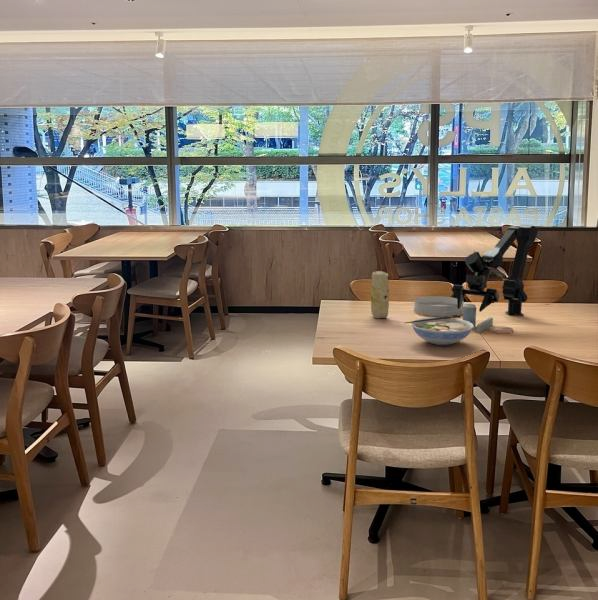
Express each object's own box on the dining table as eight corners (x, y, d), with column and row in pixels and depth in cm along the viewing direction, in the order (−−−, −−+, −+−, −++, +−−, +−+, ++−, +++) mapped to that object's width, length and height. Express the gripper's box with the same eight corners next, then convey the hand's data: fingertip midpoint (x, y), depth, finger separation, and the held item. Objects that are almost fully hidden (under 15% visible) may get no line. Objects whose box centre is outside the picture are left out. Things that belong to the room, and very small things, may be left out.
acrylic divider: (489, 324, 279) (490, 317, 279) (492, 324, 279) (492, 317, 278) (476, 332, 266) (476, 325, 266) (479, 332, 266) (479, 325, 265)
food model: (392, 317, 293) (393, 272, 289) (381, 320, 289) (381, 273, 285) (376, 314, 300) (377, 269, 296) (365, 316, 296) (366, 271, 293)
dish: (446, 305, 320) (446, 294, 319) (473, 314, 299) (474, 303, 298) (404, 309, 312) (405, 298, 311) (430, 318, 292) (430, 307, 291)
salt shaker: (461, 325, 279) (462, 303, 277) (473, 325, 279) (474, 303, 277) (464, 328, 274) (465, 306, 272) (476, 328, 274) (477, 306, 272)
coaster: (486, 328, 274) (486, 326, 273) (509, 328, 273) (509, 326, 273) (492, 333, 265) (492, 331, 265) (515, 333, 265) (515, 331, 264)
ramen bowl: (430, 354, 236) (431, 332, 234) (396, 339, 256) (396, 318, 255) (488, 346, 246) (489, 325, 244) (450, 333, 266) (451, 312, 265)
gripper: (454, 265, 280) (442, 295, 274) (498, 269, 270) (486, 300, 263) (461, 281, 288) (449, 311, 282) (504, 286, 277) (492, 317, 271)
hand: (468, 309), depth 274 cm, fingers open, 9 cm apart
